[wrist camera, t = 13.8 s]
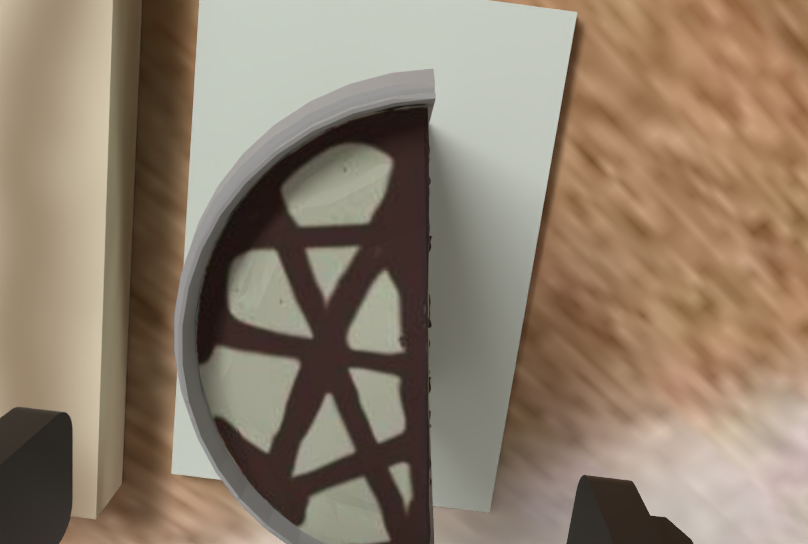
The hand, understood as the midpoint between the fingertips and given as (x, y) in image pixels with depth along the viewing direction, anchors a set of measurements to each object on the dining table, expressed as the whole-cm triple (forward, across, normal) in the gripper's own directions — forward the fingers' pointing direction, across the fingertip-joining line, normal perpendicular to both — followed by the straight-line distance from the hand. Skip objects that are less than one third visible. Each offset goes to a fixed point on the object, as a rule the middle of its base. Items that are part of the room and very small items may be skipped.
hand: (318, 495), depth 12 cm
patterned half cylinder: (+15, +2, 0) cm, 15 cm away
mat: (+15, +1, 0) cm, 15 cm away
